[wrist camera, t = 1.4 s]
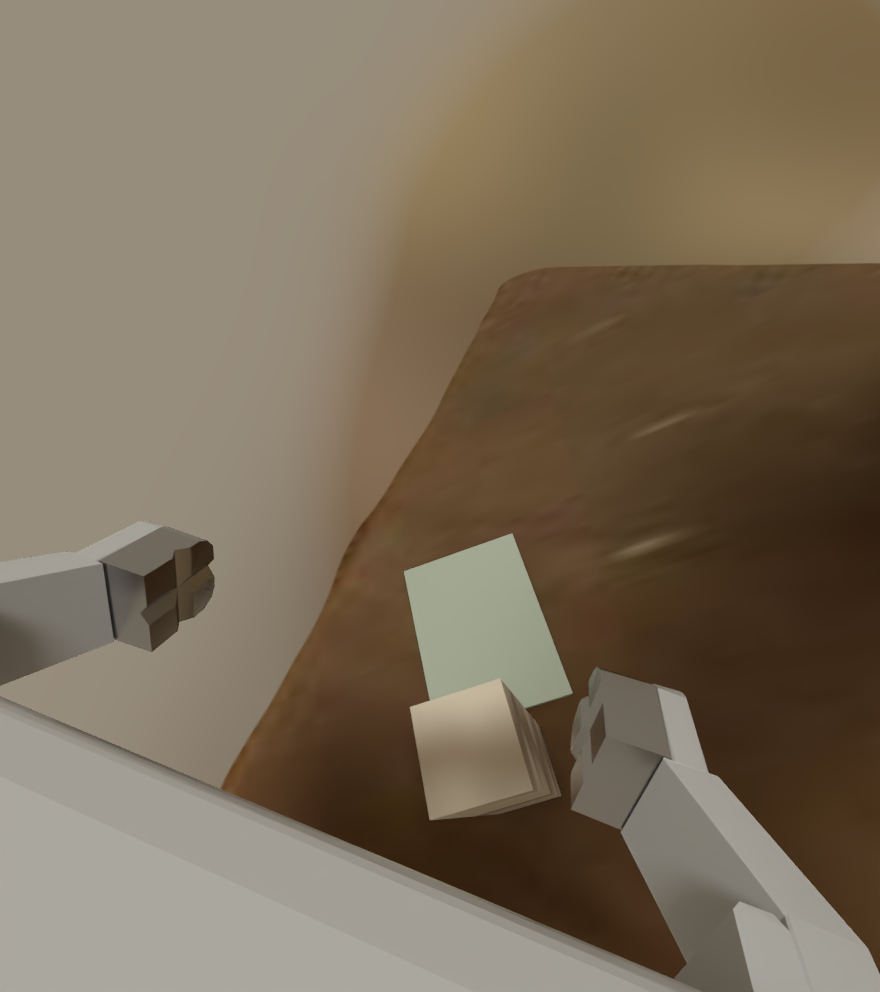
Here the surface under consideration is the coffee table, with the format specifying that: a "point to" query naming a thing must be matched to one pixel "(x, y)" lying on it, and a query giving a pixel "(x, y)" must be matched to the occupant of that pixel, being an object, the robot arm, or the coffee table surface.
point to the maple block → (481, 753)
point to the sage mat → (484, 625)
